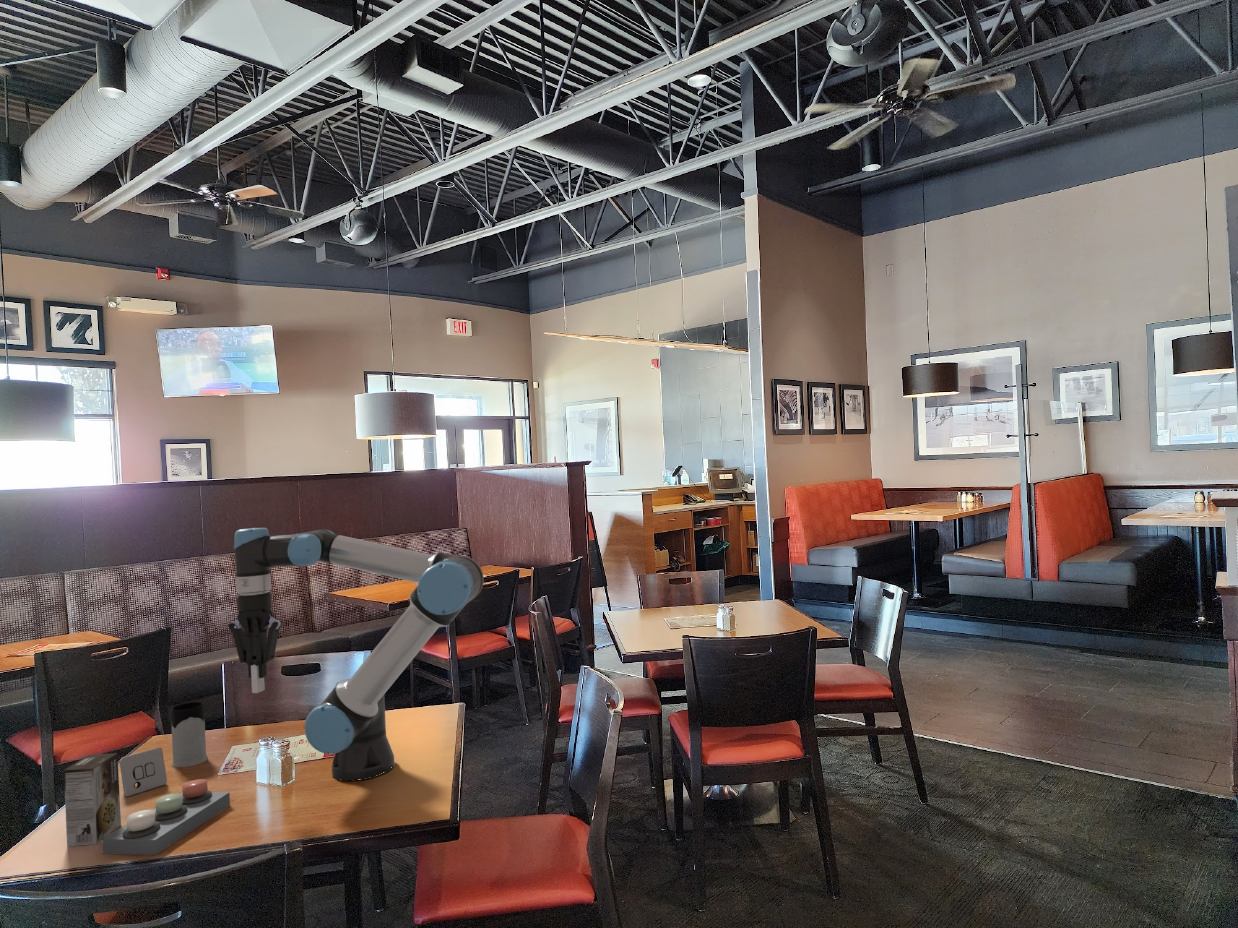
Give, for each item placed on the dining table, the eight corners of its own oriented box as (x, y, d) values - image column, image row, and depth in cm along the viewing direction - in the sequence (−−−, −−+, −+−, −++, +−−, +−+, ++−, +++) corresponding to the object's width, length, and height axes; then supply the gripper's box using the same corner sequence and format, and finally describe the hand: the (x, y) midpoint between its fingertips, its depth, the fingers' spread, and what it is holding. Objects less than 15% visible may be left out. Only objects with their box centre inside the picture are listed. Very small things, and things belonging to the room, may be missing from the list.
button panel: (230, 805, 177) (229, 789, 177) (155, 854, 154) (154, 837, 154) (183, 804, 178) (182, 789, 178) (102, 853, 156) (102, 836, 156)
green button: (188, 803, 168) (187, 793, 168) (171, 813, 163) (171, 803, 163) (167, 803, 169) (167, 793, 169) (150, 813, 164) (150, 803, 164)
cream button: (161, 820, 160) (160, 809, 160) (142, 831, 155) (142, 820, 155) (139, 819, 161) (139, 809, 161) (121, 830, 156) (120, 819, 156)
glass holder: (174, 770, 201) (171, 713, 202) (165, 756, 212) (163, 702, 213) (211, 760, 207) (208, 705, 207) (200, 748, 218) (198, 695, 218)
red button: (212, 788, 176) (212, 778, 176) (197, 797, 171) (197, 787, 171) (192, 788, 177) (192, 778, 177) (177, 797, 172) (176, 787, 172)
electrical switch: (125, 798, 184) (123, 758, 185) (118, 795, 187) (115, 756, 188) (168, 784, 192) (165, 747, 192) (159, 782, 195) (157, 745, 195)
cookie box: (91, 827, 169) (88, 753, 169) (122, 824, 169) (119, 751, 169) (65, 847, 160) (62, 769, 160) (97, 844, 160) (94, 767, 160)
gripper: (218, 595, 180) (223, 696, 180) (269, 594, 178) (274, 695, 178) (239, 590, 188) (243, 687, 187) (288, 589, 186) (292, 686, 186)
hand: (258, 691), depth 183 cm, fingers closed
